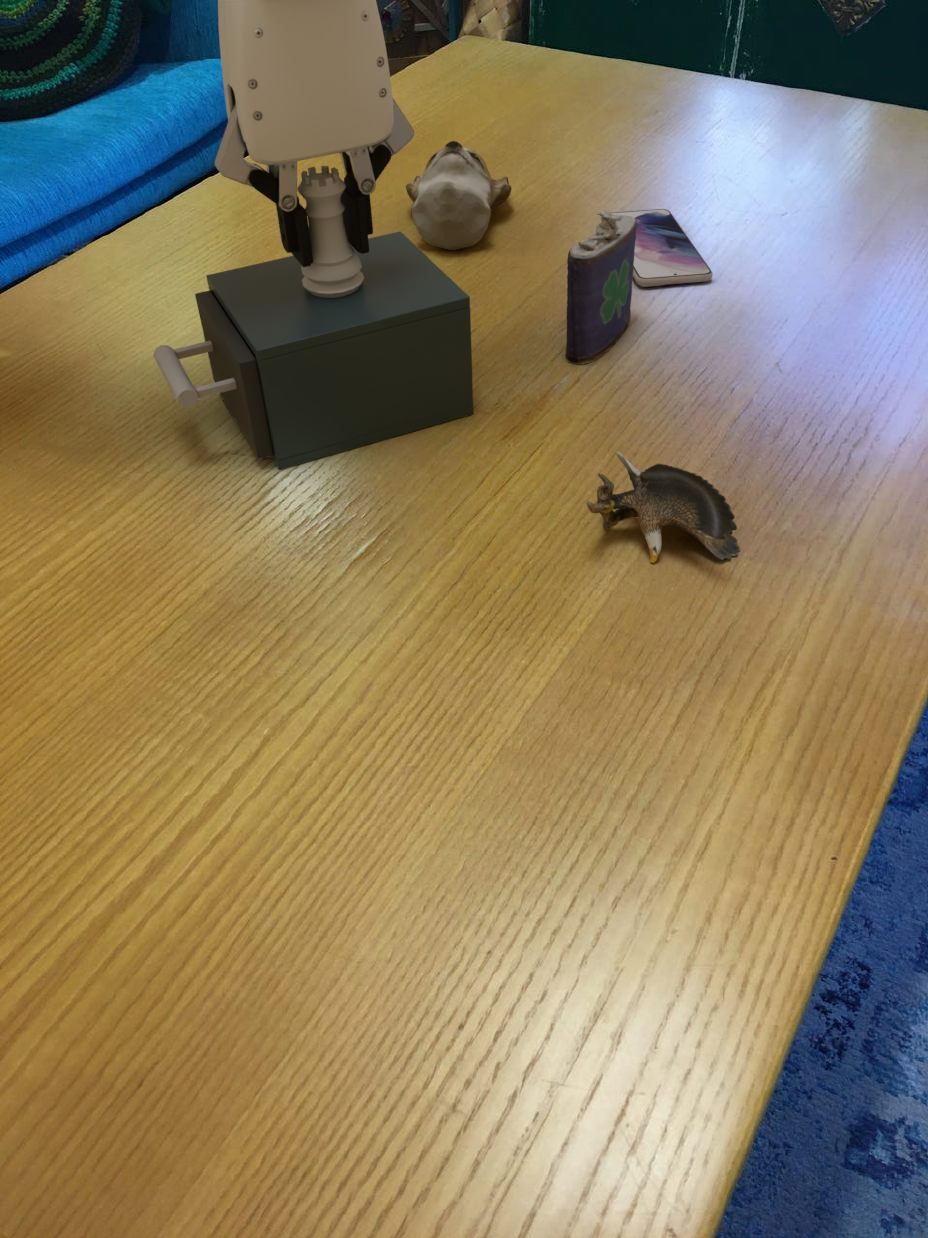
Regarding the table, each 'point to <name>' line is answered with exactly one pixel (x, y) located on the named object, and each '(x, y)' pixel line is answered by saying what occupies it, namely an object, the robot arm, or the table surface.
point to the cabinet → (353, 349)
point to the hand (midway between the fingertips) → (329, 250)
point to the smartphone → (664, 251)
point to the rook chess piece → (328, 237)
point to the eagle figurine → (670, 507)
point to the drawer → (221, 373)
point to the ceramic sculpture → (455, 197)
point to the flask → (600, 288)
